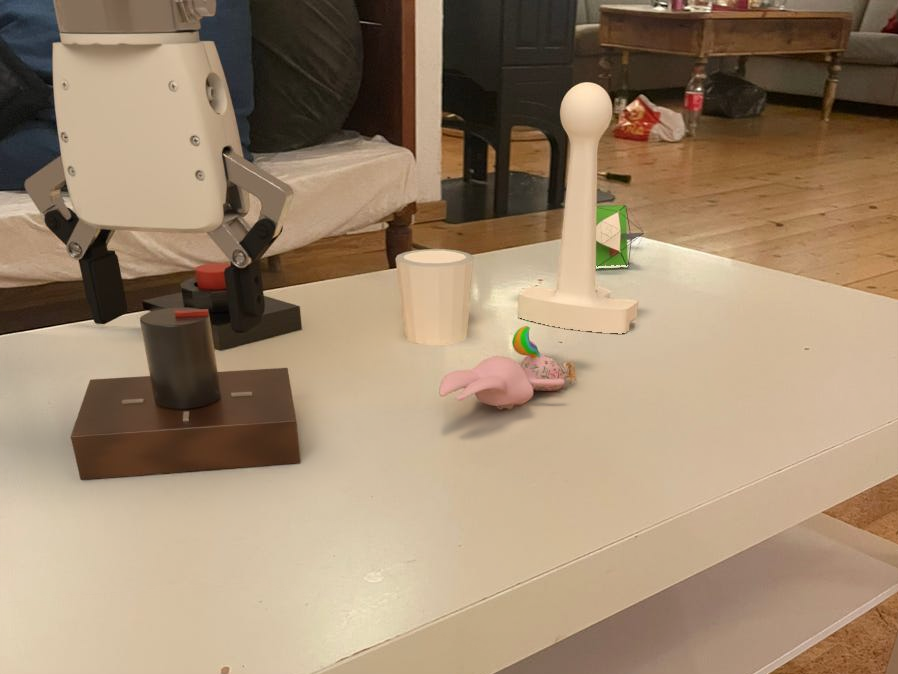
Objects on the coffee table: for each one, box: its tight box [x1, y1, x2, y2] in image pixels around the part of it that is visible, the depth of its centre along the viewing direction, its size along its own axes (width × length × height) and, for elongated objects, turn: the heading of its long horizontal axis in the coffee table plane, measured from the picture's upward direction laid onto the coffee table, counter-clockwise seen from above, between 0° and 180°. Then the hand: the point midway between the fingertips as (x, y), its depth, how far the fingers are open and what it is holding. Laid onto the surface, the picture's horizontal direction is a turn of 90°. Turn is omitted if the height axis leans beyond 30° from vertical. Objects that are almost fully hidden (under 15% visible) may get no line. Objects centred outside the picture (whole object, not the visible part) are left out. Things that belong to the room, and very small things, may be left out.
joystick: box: [517, 81, 639, 335], centre depth 90 cm, size 11×8×20 cm
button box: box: [141, 276, 303, 352], centre depth 91 cm, size 12×9×4 cm
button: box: [194, 262, 231, 289], centre depth 90 cm, size 4×4×2 cm
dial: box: [139, 308, 221, 409], centre depth 66 cm, size 4×4×6 cm
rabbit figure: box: [438, 325, 578, 411], centre depth 74 cm, size 6×6×15 cm
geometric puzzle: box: [596, 204, 646, 267], centre depth 111 cm, size 7×7×8 cm
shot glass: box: [395, 248, 475, 346], centre depth 88 cm, size 7×7×7 cm
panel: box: [70, 367, 301, 481], centre depth 68 cm, size 14×11×3 cm
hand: (178, 323), depth 64 cm, fingers open, 9 cm apart
